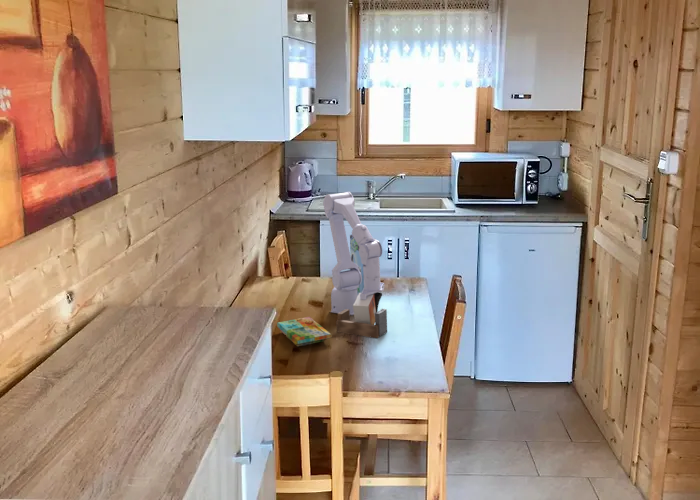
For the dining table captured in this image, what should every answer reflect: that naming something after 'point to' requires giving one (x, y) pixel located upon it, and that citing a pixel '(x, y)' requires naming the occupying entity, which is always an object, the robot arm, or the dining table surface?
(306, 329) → the puzzle game
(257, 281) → the dining table surface
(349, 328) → the walnut shelf corner
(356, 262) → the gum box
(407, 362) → the dining table surface
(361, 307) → the small box
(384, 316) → the bookend
